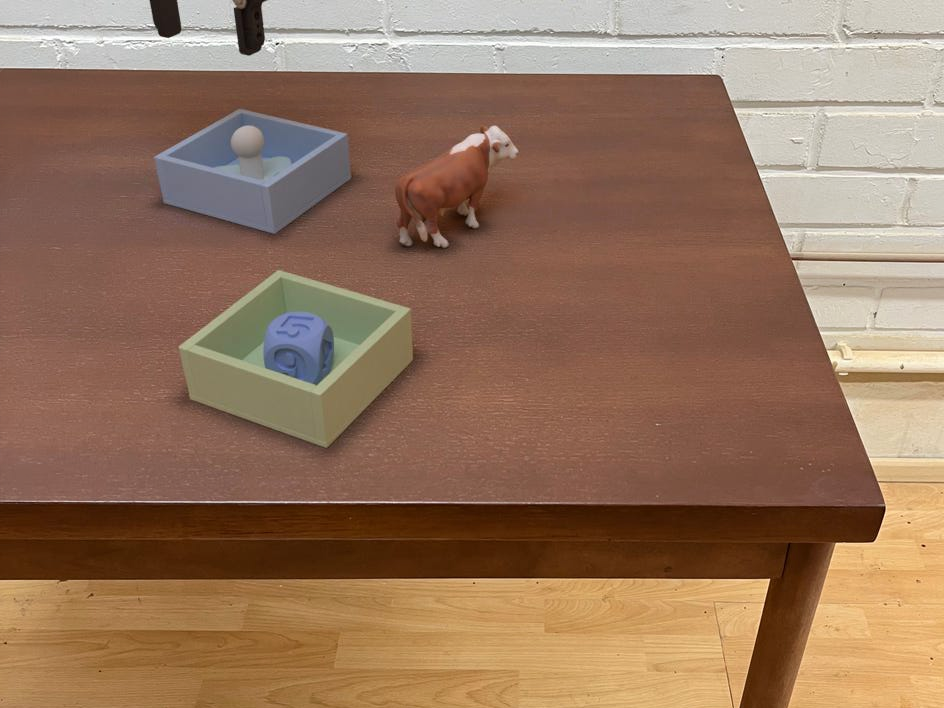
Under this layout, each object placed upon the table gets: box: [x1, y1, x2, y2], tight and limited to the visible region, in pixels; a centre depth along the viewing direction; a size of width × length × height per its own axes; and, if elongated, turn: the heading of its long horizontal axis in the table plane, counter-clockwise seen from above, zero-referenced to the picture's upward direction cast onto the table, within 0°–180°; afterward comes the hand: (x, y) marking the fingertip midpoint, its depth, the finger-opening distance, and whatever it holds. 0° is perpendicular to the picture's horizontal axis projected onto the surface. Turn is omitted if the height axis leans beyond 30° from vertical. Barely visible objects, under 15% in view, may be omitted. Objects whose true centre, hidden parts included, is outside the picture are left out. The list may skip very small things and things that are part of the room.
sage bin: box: [177, 269, 414, 449], centre depth 72 cm, size 12×12×4 cm
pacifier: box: [215, 125, 291, 182], centre depth 93 cm, size 7×6×6 cm
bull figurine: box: [394, 125, 519, 249], centre depth 87 cm, size 4×13×8 cm, turn 135°
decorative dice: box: [263, 312, 334, 385], centre depth 72 cm, size 4×4×4 cm
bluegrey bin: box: [153, 108, 352, 235], centre depth 94 cm, size 13×13×4 cm
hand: (210, 43), depth 85 cm, fingers open, 8 cm apart
